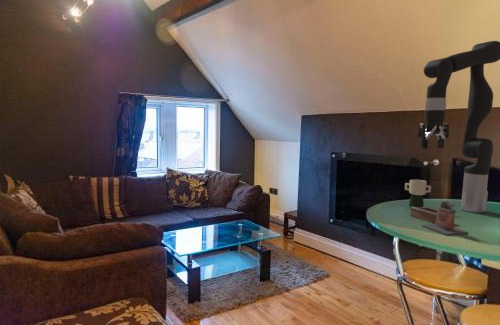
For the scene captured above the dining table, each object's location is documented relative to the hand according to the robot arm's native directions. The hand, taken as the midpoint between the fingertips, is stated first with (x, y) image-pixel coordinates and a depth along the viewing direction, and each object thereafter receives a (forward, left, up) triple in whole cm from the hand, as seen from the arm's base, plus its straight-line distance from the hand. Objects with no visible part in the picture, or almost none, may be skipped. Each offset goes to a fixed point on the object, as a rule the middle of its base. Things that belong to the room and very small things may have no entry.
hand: (432, 148), depth 145 cm
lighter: (+11, +18, -28) cm, 35 cm away
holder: (+4, +5, -29) cm, 29 cm away
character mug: (-6, -13, -29) cm, 32 cm away
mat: (+11, +18, -29) cm, 36 cm away
